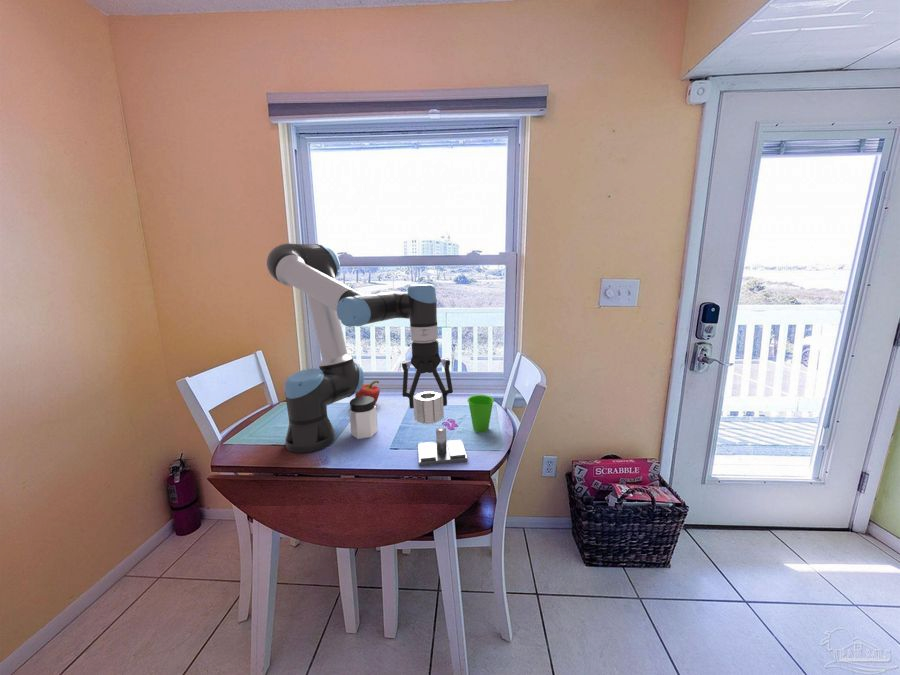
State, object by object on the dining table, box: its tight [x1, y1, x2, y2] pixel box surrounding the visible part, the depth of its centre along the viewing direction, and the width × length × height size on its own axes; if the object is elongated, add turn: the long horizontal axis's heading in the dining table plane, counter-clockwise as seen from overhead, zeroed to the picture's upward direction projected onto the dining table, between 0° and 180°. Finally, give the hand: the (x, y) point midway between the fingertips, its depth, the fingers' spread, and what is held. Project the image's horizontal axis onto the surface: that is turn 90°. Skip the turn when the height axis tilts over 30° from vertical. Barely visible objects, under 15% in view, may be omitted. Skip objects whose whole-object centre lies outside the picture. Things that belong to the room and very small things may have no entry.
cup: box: [467, 394, 495, 434], centre depth 119 cm, size 9×9×11 cm
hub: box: [415, 391, 442, 425], centre depth 100 cm, size 7×7×7 cm
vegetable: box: [354, 380, 381, 405], centre depth 142 cm, size 11×10×10 cm
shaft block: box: [417, 426, 468, 467], centre depth 104 cm, size 14×10×8 cm
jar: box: [348, 396, 379, 440], centre depth 118 cm, size 9×8×12 cm
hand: (429, 416), depth 101 cm, fingers closed on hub, 7 cm apart
